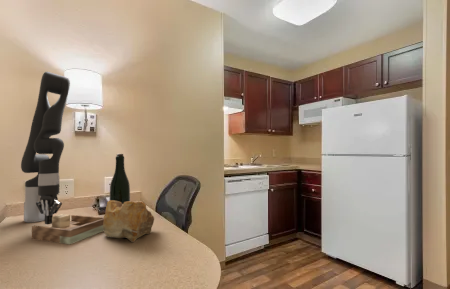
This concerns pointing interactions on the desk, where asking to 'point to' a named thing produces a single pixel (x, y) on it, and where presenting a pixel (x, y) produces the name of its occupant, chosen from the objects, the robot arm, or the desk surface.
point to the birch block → (61, 221)
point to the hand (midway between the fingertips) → (48, 223)
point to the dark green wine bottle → (120, 182)
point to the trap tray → (70, 230)
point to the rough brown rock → (127, 220)
